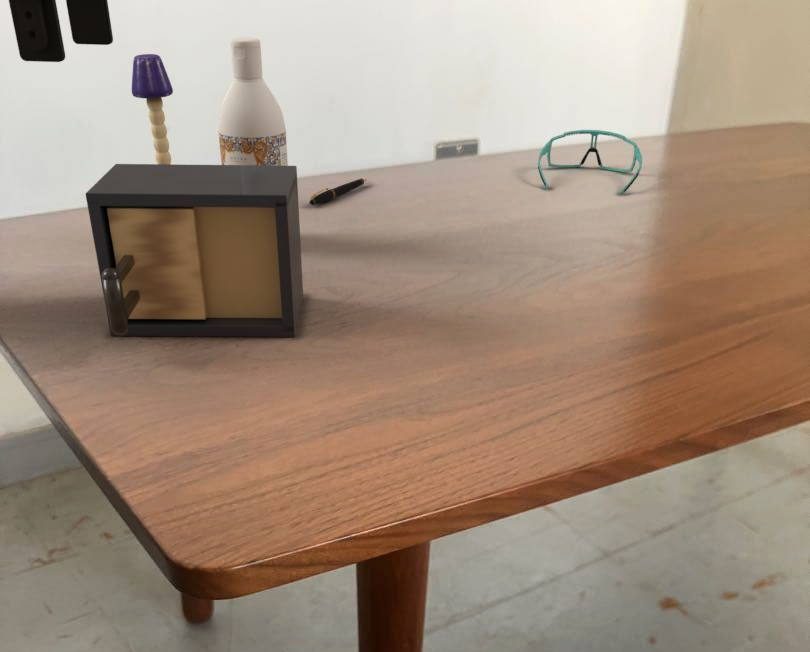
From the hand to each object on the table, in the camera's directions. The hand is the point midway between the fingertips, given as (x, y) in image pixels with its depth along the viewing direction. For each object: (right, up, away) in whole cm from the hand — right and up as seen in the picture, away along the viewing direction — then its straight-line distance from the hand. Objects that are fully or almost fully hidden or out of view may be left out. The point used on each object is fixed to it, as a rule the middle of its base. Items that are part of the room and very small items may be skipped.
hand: (70, 51), depth 71 cm
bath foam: (+10, -5, +32) cm, 33 cm away
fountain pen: (+17, +7, +48) cm, 52 cm away
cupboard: (+8, -17, +13) cm, 23 cm away
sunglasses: (+51, +12, +57) cm, 78 cm away
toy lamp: (-3, +3, +43) cm, 43 cm away
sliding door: (+5, -20, +7) cm, 22 cm away
